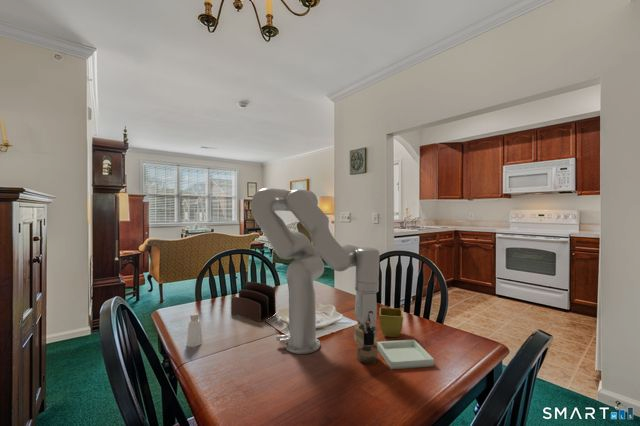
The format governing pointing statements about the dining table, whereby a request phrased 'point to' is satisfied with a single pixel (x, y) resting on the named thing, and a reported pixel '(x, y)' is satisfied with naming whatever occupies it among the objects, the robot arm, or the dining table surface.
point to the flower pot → (391, 321)
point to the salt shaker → (194, 331)
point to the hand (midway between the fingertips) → (365, 338)
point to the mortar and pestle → (367, 353)
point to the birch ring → (362, 333)
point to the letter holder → (255, 302)
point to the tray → (404, 354)
